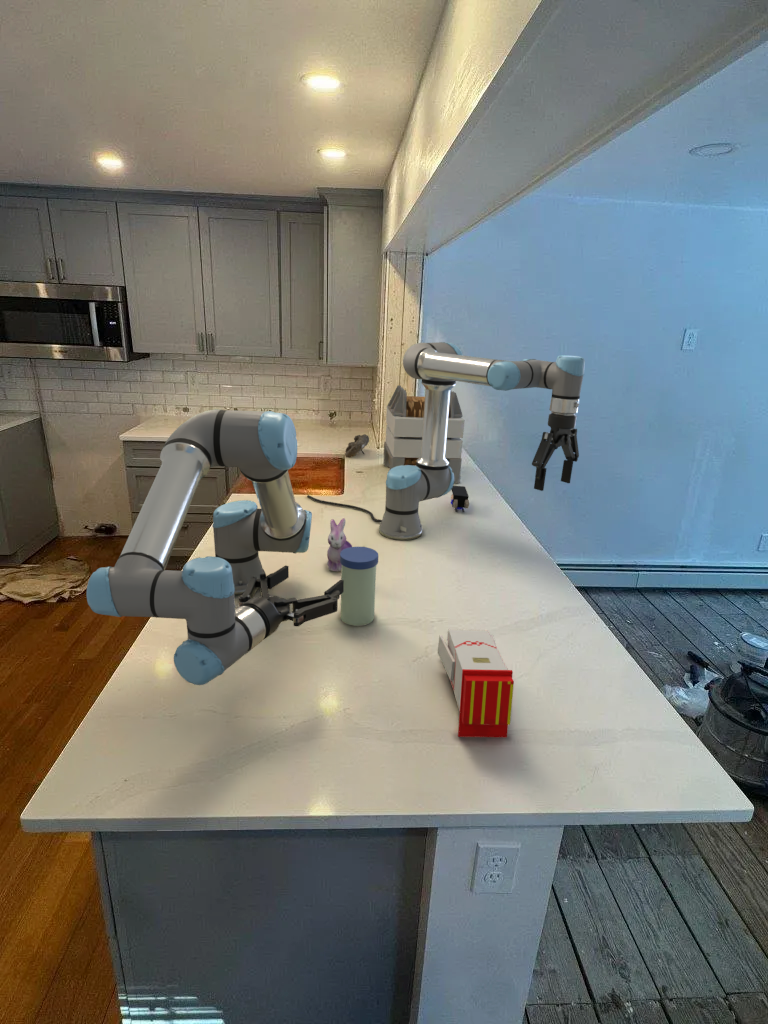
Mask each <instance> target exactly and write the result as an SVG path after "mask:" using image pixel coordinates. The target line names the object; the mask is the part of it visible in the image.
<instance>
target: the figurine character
mask: <svg viewBox="0 0 768 1024" xmlns="http://www.w3.org/2000/svg"><path fill="white" fill-rule="evenodd" d="M450 491H451V493H452V494H451V495H450V505H451V507H452V508H453V509H454V511H455V512H456V513H458V510H461V511H462V513H465V509H469V506H470V500H469V498H470V496H469V494H468V491H467V488H466V486H461V485H453V487H452V489H451V490H450Z"/></svg>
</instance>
